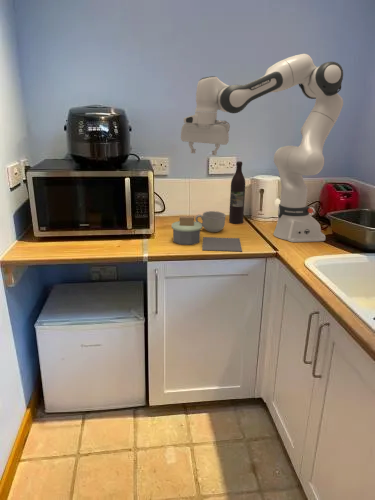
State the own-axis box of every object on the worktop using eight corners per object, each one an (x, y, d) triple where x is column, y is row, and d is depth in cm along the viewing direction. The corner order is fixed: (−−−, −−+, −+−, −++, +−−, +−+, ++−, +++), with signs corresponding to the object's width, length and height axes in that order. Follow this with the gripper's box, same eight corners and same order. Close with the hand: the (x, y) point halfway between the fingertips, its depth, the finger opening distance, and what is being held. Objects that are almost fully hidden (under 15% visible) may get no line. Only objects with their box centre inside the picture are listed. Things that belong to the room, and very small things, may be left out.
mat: (239, 239, 166) (239, 238, 166) (242, 251, 151) (242, 250, 151) (203, 237, 167) (203, 237, 167) (202, 250, 152) (202, 249, 152)
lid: (202, 223, 167) (202, 213, 166) (201, 232, 155) (201, 221, 153) (173, 222, 168) (173, 212, 166) (170, 231, 156) (170, 220, 154)
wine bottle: (226, 222, 191) (229, 161, 180) (234, 219, 196) (237, 160, 185) (238, 224, 187) (241, 163, 176) (245, 222, 192) (249, 161, 181)
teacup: (224, 227, 182) (225, 211, 180) (224, 234, 172) (225, 217, 169) (196, 226, 184) (196, 210, 181) (194, 233, 173) (194, 216, 171)
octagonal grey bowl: (200, 236, 168) (200, 223, 166) (199, 245, 158) (199, 231, 156) (175, 235, 169) (175, 223, 167) (172, 244, 159) (172, 230, 156)
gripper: (232, 120, 154) (229, 155, 159) (185, 118, 161) (184, 151, 166) (227, 121, 148) (225, 157, 153) (180, 118, 155) (178, 152, 160)
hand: (203, 154), depth 159 cm, fingers open, 8 cm apart
